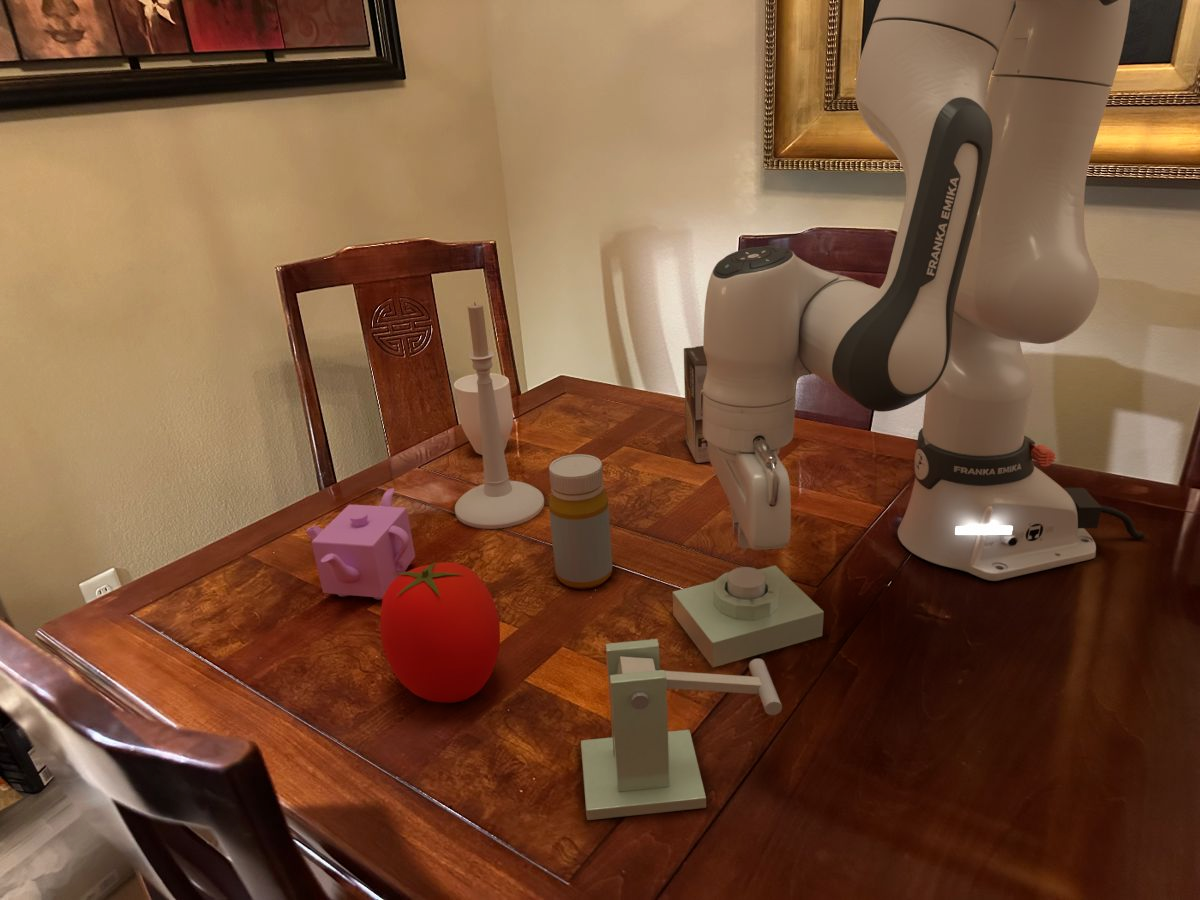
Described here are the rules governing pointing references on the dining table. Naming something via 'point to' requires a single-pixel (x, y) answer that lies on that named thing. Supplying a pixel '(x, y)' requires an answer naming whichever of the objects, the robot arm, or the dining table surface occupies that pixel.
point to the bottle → (580, 521)
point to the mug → (470, 407)
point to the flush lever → (714, 681)
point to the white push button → (746, 583)
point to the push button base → (746, 618)
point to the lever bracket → (639, 746)
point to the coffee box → (695, 402)
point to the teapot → (363, 549)
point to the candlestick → (493, 453)
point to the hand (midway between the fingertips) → (744, 541)
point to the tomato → (440, 631)
